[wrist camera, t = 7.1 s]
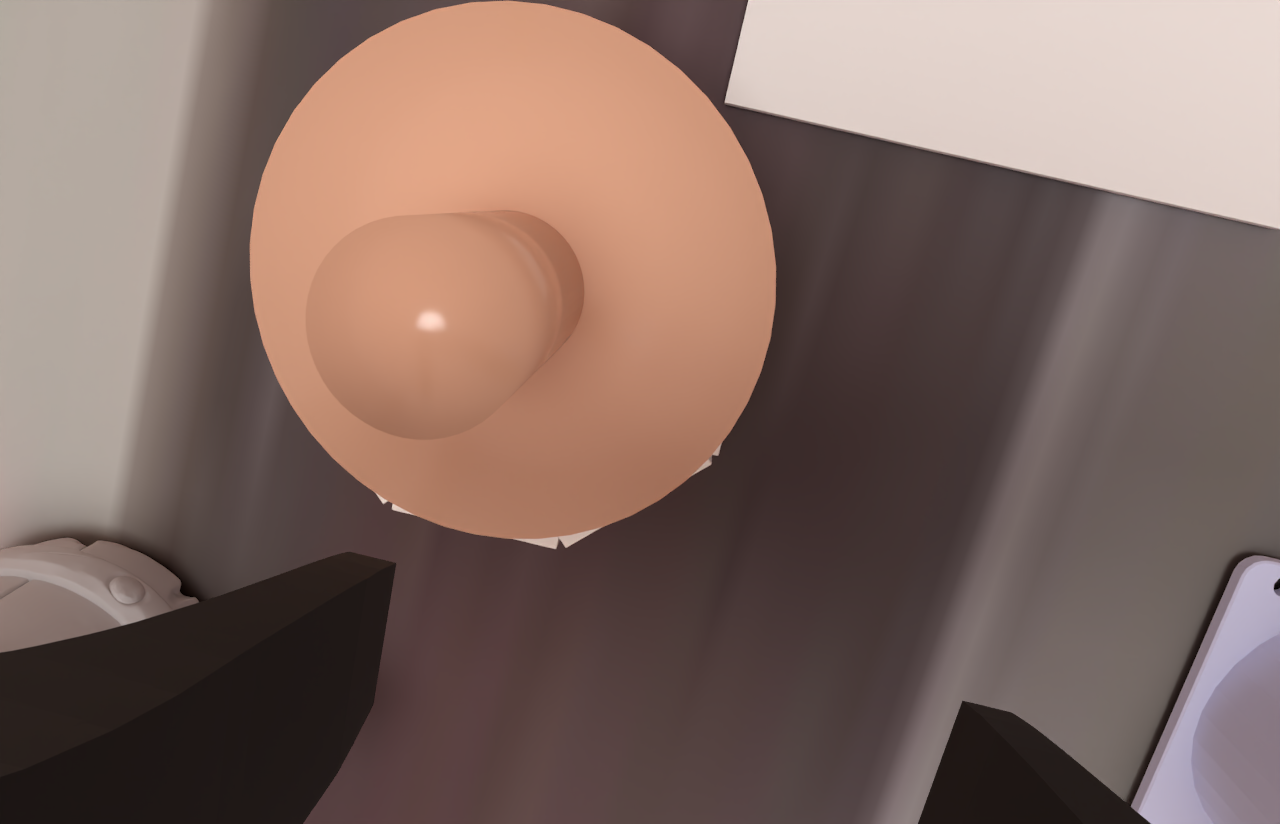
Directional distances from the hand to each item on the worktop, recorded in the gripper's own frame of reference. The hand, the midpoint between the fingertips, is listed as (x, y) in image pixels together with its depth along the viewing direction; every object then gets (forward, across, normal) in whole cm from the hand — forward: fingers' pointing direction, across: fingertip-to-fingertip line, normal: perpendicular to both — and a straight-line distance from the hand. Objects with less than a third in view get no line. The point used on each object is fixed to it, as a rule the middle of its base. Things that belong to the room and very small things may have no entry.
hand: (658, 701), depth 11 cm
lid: (+7, +4, -4) cm, 9 cm away
